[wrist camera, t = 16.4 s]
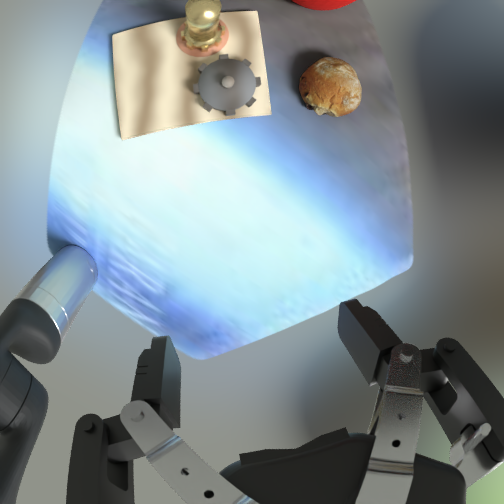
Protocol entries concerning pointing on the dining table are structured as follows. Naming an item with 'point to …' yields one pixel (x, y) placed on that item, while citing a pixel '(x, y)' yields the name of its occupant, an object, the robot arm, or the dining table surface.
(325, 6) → the ceramic cup
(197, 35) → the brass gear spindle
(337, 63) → the bread roll
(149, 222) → the dining table surface
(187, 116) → the gear board
